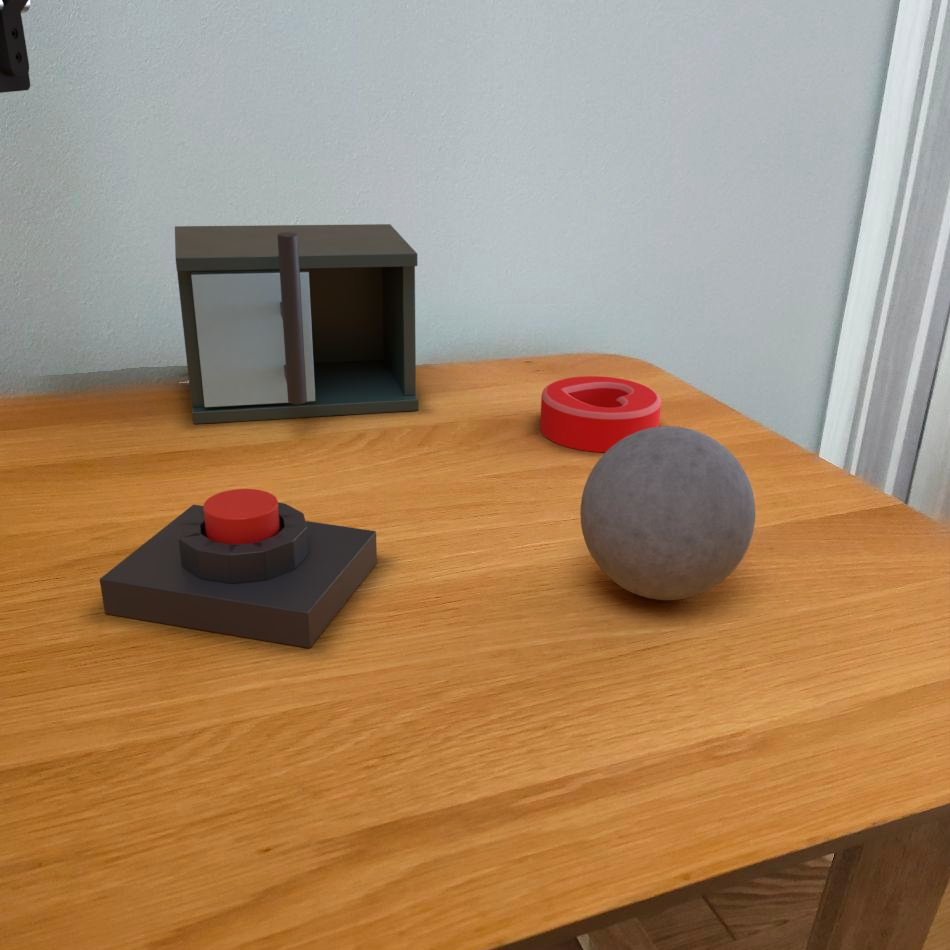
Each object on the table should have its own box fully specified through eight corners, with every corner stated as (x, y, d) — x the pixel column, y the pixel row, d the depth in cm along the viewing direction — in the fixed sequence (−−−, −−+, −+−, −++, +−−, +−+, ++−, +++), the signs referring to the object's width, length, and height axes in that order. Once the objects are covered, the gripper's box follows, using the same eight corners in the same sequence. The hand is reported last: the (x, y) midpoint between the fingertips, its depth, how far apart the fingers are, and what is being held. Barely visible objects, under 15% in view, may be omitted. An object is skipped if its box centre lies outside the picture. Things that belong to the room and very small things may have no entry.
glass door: (206, 431, 79) (186, 237, 72) (204, 405, 84) (185, 220, 77) (323, 424, 81) (314, 235, 75) (314, 398, 86) (305, 219, 80)
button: (192, 541, 58) (189, 513, 57) (227, 512, 62) (225, 484, 61) (260, 552, 57) (257, 523, 57) (291, 521, 61) (289, 493, 60)
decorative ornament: (531, 410, 90) (533, 375, 89) (641, 409, 92) (645, 374, 90) (550, 453, 82) (552, 415, 80) (671, 451, 83) (675, 413, 82)
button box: (104, 614, 58) (94, 549, 56) (196, 535, 67) (190, 477, 65) (309, 648, 56) (306, 582, 54) (377, 563, 65) (375, 503, 63)
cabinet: (193, 424, 83) (175, 257, 78) (190, 376, 94) (174, 226, 88) (418, 410, 89) (417, 253, 83) (392, 367, 99) (390, 224, 93)
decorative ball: (771, 623, 60) (799, 461, 56) (605, 641, 58) (620, 472, 53) (703, 544, 69) (722, 398, 64) (555, 557, 66) (564, 405, 62)
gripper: (114, -297, 54) (156, 95, 62) (-141, -298, 56) (-67, 78, 64) (17, -341, 47) (79, 104, 55) (-266, -339, 50) (-166, 85, 58)
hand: (0, 89), depth 60 cm, fingers closed
